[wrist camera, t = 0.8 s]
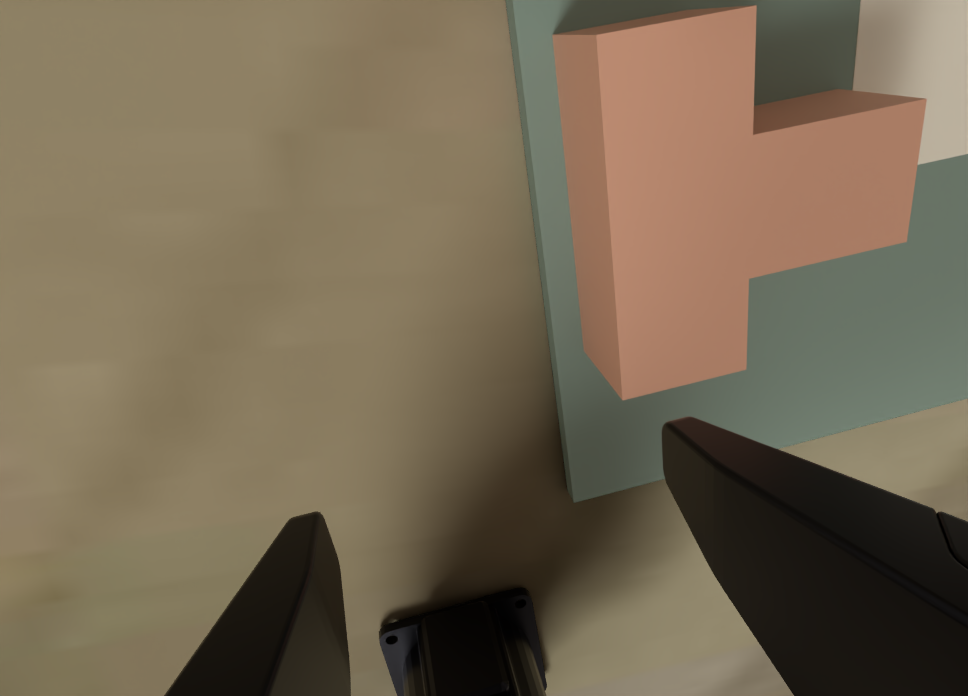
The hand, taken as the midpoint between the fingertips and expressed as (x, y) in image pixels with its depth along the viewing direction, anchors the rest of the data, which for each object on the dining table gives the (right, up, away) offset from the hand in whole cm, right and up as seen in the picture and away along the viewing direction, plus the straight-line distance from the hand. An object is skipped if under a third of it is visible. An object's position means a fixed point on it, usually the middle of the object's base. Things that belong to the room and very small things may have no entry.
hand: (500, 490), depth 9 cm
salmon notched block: (+7, +7, +12) cm, 15 cm away
